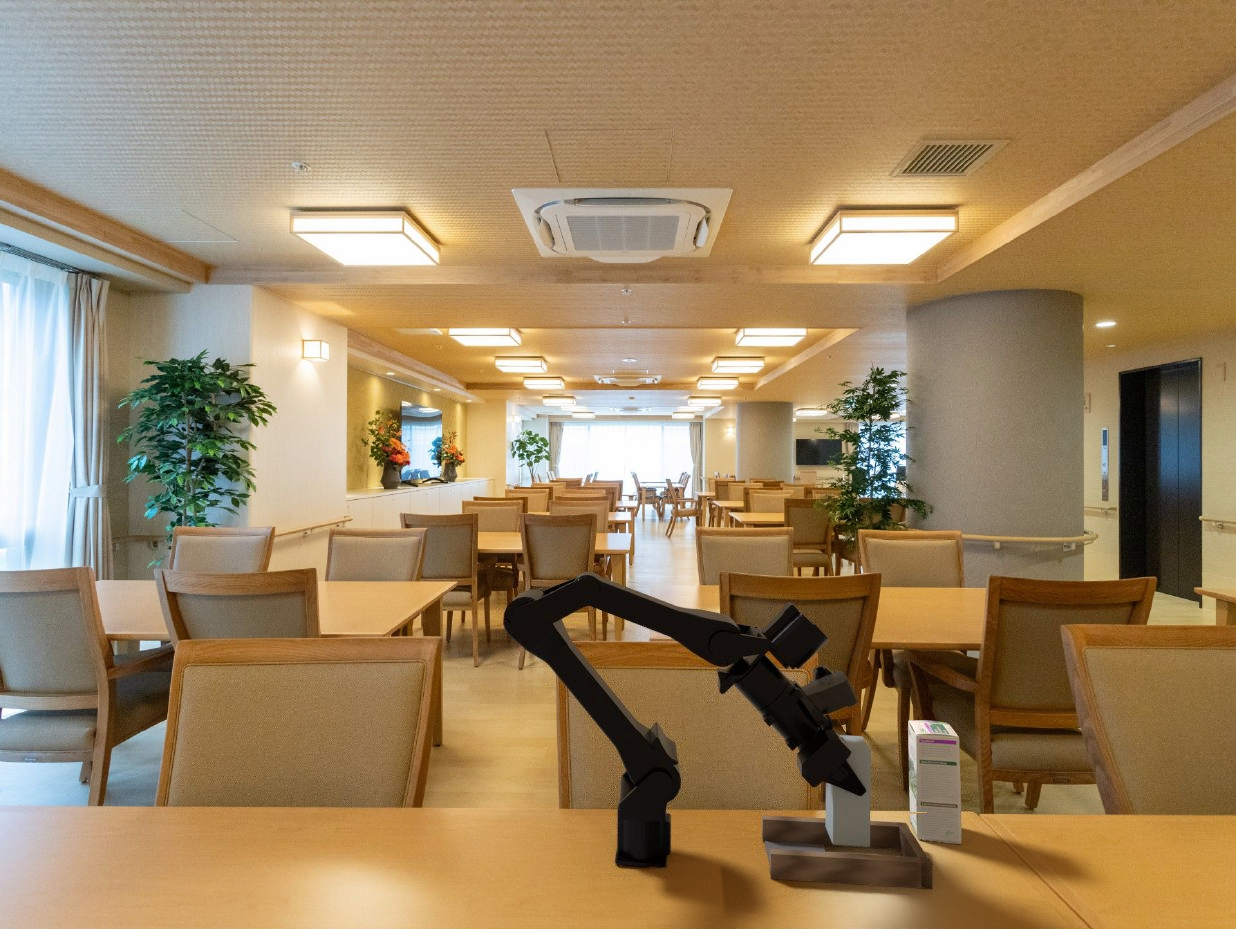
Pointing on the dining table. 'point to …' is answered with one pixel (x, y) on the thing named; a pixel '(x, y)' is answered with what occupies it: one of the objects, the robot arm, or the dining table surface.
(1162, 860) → the dining table surface
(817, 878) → the frame
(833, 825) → the slate block
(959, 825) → the syrup box
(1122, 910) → the dining table surface
